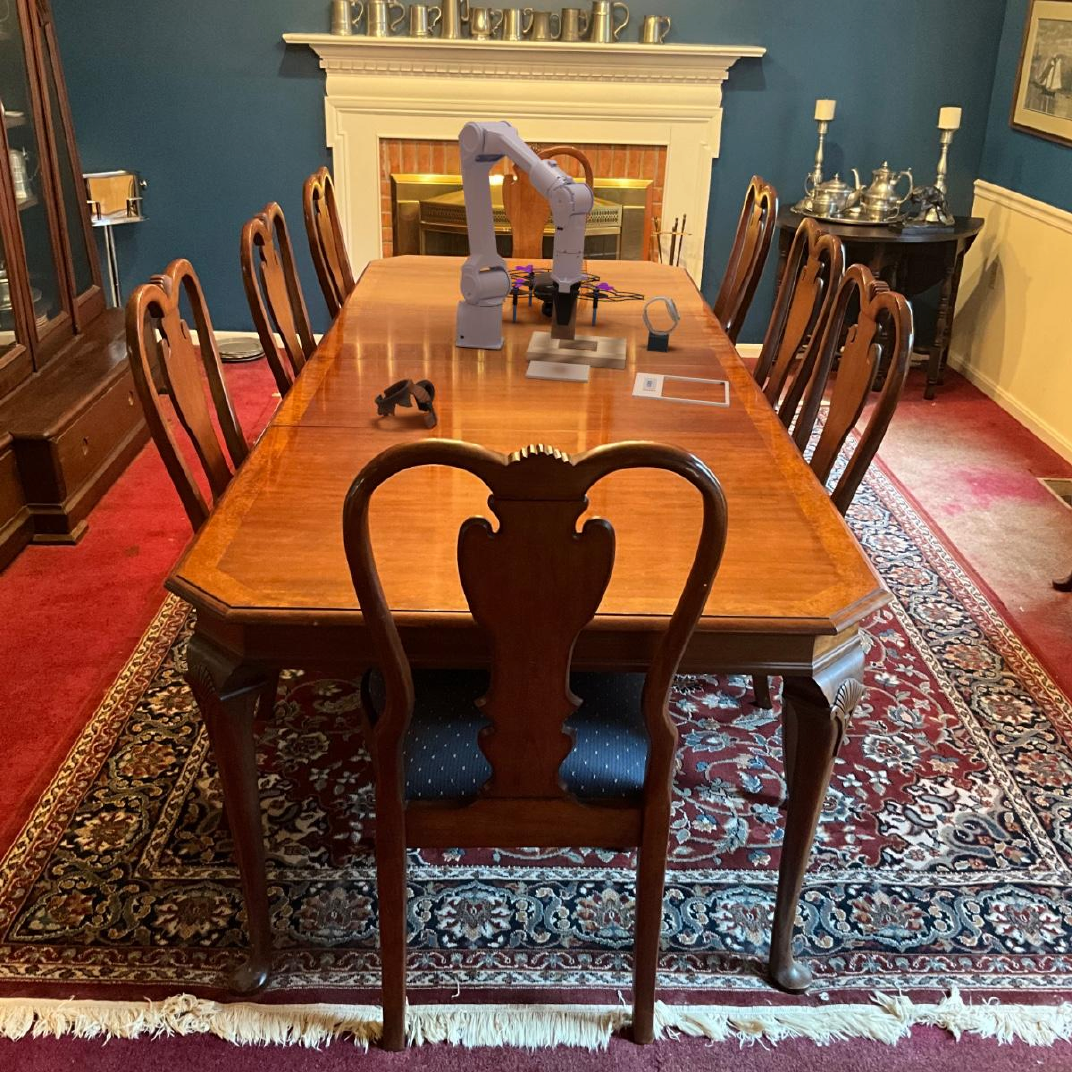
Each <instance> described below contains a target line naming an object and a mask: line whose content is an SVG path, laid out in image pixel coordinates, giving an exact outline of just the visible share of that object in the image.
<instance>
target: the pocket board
mask: <svg viewBox="0 0 1072 1072" xmlns="http://www.w3.org/2000/svg"><path fill="white" fill-rule="evenodd" d="M560 347H562V348H560ZM626 354H627V338H621V337H611V336H597V335H596V336H595V335H584V334H575V338H574V340H562V339H551V332H547V331H546V332H545V331H537V330H536V331H535V330H534V331H533V333H532V335H531V338H530V341H529V344H528V347H527V350H526V356H525V357H526V358H525V359H526V360H525V361H526V362H530V361H542V362H555V363H567V364H579V365H590V367H594V368H595V367H596V368H606V369H618V370H619V369H620V370H625V369H626V358H627V355H626Z"/></svg>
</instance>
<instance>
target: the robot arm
mask: <svg viewBox="0 0 1072 1072" xmlns="http://www.w3.org/2000/svg"><path fill="white" fill-rule="evenodd" d="M518 130H519V129H518V128H516V127H514V126H513V125H512V124H511V123H510V122H509V121H507V120H500V121H472V120H471V121H468V122H466V123H465V124H464V125H463V127H462V129H461V130H460V132H459V134H458V135H457V138H458V145H459V146H458V147H459V148H458V149H459V156H460V171H461V179H462V188H463V198H464V208H465V216H466V225H467V226H466V227H467V233H468V234H467V235H468V236H467V237H468V245H469V252H470V253H469V254H470V255H469V257H468V258H467V259H466V260H465V261H464V263H463V264H461V266H460V270H461V271H460V272H461V277H460V282H459V283H460V284H459V288H460V292H461V296H462V297H463V299H464V300H459V301H458V304H457V309H456V328H455V329H456V330H455V337H456V339H455V347H461V348H462V347H464V348H474V349H475V348H476V349H486V350H501V349H502V347H503V345H504V343H505V339H506V338H504V337H502V325H503V324H502V322H503V306H504V305H503V303H506V298H508V297H507V296H510V295H509V294H510V292H511V289H512V286H513V284H512V282H513V281H512V279H511V277H510V276H511V275H509V274H510V272H508V271H509V270H508V263H507V261H506V260H505V258H503V257H502V256H501V255H500V254H498V251H497V242H496V231H495V221H494V212H493V203H492V194H491V193H492V192H491V183H490V172H491V170H492V169H493V168H494V166H495V165H497V164H498V163H499V162H500V161H502V160H503V159H504V158H507V159H509V160H510V161H511V162H513V163H514V164H515V165H517V166H518V167H519V168H520V169H521V170H523V171H524V172H525V173H527V174H528V175H529V176H528V177H529V179H528V181H529V183H530V185H531V186H532V188H535V190H537V192H538V193H540V194H541V195H542V196H543V197H544V198H545V199H546V200H547V201H548V202H549V206H550V210H551V212H552V222H553V225H554V233H553V235H554V236H553V237H554V238H553V253H552V264H551V265H552V266H551V267H552V268H551V269H552V270H551V271H550V272H551V278H552V279H553V280H554V281H553V282H552V284H553V286H554V287H551V288H550V292H551V295H552V297H553V300H554V304H555V310H556V319H557V324H558V325H565V326H568V324H569V322H570V318H571V313H572V309H573V305H574V303H575V300H576V298H577V297H578V298H579V296H578V295H579V293H581V291H580V286H582V285H583V284H582V281H588V280H589V279H588V277H589V275H587V274H588V273H587V274H582V273H583V271H582V270H583V263H584V252H585V251H584V250H585V237H586V234H585V233H586V226H587V224H586V223H587V215H588V214H590V213H591V212H592V210H593V208H594V206H595V205H594V203H595V197H594V192H593V190H592V189H591V187H590V186H589V185H588V183H586V182H577V181H575V180H574V178H573V176H571V175H568V174H567V172H566V173H565V172H564V171H563V170H562V169H561V168H560V167H559V166H558V162H557V161H556V160H555V159H547V158H545V159H541V157H539V155H537V154H536V153H535V152H534V151H533V149H532V148H531V147H530V146H529V145H528V144H527V143H526V142H525V141H524V140H523V139H522V138H521V137H520V135H519V131H518ZM485 268H486V269H485ZM487 268H488V269H487ZM482 269H484V270H482ZM581 280H582V281H581Z"/></svg>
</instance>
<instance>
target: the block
mask: <svg viewBox="0 0 1072 1072" xmlns="http://www.w3.org/2000/svg"><path fill="white" fill-rule="evenodd" d="M578 298H579V296H578V297H577V298H576V300H575V303H574V305H573V309H572V313H571V318H570V322H569V324H568V326H565V325H558V324H557V319H556V310H555V304H554V300H553V312H552V318H551V330H550V331H551V332H550V333H551V339H562V340H574V338H575V335H576V329H577V326H576V325H577V313H578V301H579V299H578Z"/></svg>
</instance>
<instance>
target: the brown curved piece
mask: <svg viewBox="0 0 1072 1072" xmlns="http://www.w3.org/2000/svg"><path fill="white" fill-rule="evenodd" d="M382 392H383V393H384V397H383V395H382V394H380V393H379V394H378V395H377V396H376V397H375V398H374V399H375V400H374V403H375V404H376V406H377V411H376V414H377V415H379V416H383V417H385V418H387V417H388V416H389V415H391V416H393V417H395V416H396V415H395V410H396V405H397V406H400V407H402V408H403V407H404V408H407V409H408V408H413V406H414V405H413V404H412V398H411V395H412V396H413V398H414V400H415V402H416V405H417V409H418V411H421V412H424V413H425V412H426V413H427V414H426V415H425V416H424V417H422V418H423V419H422V421H423V422H424V423H425V425H426V429H427V430H430V429H431V428H433V427H434V426H435V425H436V424H437V422H438V417H437V415H436V412H435V408H434V405H433V402H434V400H435V396H436V388H435V385H434V384H433V383H432V382H431V381H430V380H428V379H422V380H418V381H417V382H416V383H414V382H413V379H411V378H404V379H401V380H399V381H396V383H393V384H392V385H390V386H388V387H387V388H385V389H384V390H383V391H382Z"/></svg>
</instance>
